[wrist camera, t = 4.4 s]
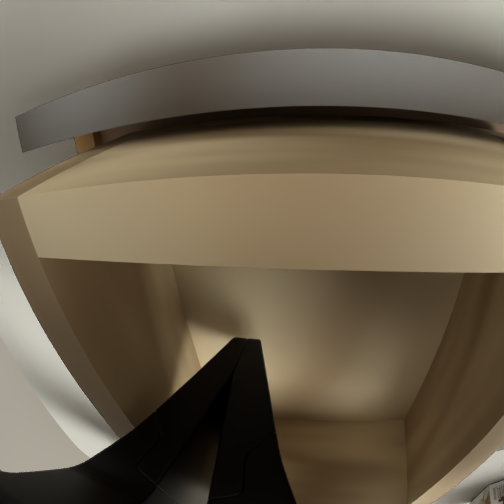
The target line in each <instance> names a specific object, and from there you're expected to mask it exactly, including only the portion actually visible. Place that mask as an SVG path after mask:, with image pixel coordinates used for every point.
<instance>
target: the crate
mask: <svg viewBox="0 0 504 504" xmlns="http://www.w3.org/2000/svg"><path fill="white" fill-rule="evenodd" d="M0 239H1V242H2V244H3V247H4V249H5V252H6V254H7V257H8V259H9V261H10V264H11V266H12V268H13V271H14V273H15V275H16V277H17V279H18V282H19V284H20V286H21V288H22V290H23V292H24V294H25V296H26V298H27V300H28V302H29V304H30V306H31V308H32V310H33V312H34V313H35V315H36V317H37V319H38V321H39V323H40V324H41V326H42V328H43V330H44V332H45V333H46V335H47V337H48V338H49V340H50V342H51V343H52V345H53V347H54V348H55V350H56V352H57V353H58V355H59V356H60V358H61V360H62V361H63V363H64V364H65V366H66V367H67V369H68V370H69V372H70V373H71V375H72V376H73V378H74V379H75V381H76V382H77V383H78V385H79V386H80V388H81V389H82V391H83V392H84V393H85V395H86V396H87V397H88V399H89V400H90V401H91V403H92V404H93V405H94V407H95V408H96V409H97V411H98V412H99V413H100V414H101V416H102V417H103V418H104V419H105V421H106V422H107V423H108V424H109V426H110V427H111V428H112V429H113V430H114V432H115V433H116V434H117V435H118V436H119V438H122V437H123V436H125V435H126V434H127V433H129V432H130V431H131V430H133V429H134V428H135V427H136V426H138V425H139V424H140V423H141V422H143V421H144V420H145V419H146V418H147V417H148V416H149V415H151V414H152V413H153V412H156V409H157V408H159V407H160V406H161V405H162V404H163V403H164V402H165V401H166V400H167V399H168V398H170V397H171V396H172V395H173V394H174V393H175V392H176V391H177V390H178V389H179V388H180V387H182V386H183V385H184V384H185V383H186V382H187V381H188V380H189V379H190V378H191V377H192V376H193V375H195V374H196V373H197V372H198V371H199V370H200V369H201V368H202V367H203V366H204V365H205V364H206V363H207V362H208V361H209V360H210V359H211V358H213V357H214V356H215V355H216V354H217V353H218V352H219V351H220V350H221V349H222V348H223V347H224V346H225V345H226V344H227V343H228V342H229V341H230V340H231V339H232V338H234V337H241V338H247V339H248V338H252V339H260V340H261V343H262V349H263V355H264V361H265V367H266V373H267V379H268V385H269V391H270V397H271V403H272V409H273V415H274V421H275V427H276V434H277V438H278V443H279V448H280V453H281V458H282V462H283V465H284V468H285V472H286V475H287V478H288V481H289V484H290V486H291V489H292V492H293V495H294V497H295V500H296V503H297V504H432V503H433V502H434V501H436V500H437V499H439V498H440V497H441V496H443V495H444V494H446V493H447V492H448V491H450V490H451V489H452V488H453V487H455V486H456V485H457V484H459V483H460V482H461V481H462V480H464V479H465V478H466V477H467V476H468V475H470V474H471V473H472V472H473V471H474V470H476V469H477V468H478V467H479V466H480V465H481V464H482V463H484V462H485V461H486V460H487V459H488V458H489V457H490V456H491V455H492V454H493V453H494V452H495V451H497V450H498V449H499V448H500V447H501V446H502V445H503V444H504V133H502V132H498V131H493V130H487V129H482V128H476V127H470V126H463V125H457V124H450V123H442V122H434V121H425V120H415V119H404V118H391V117H376V116H352V115H289V116H265V117H248V118H235V119H223V120H213V121H204V122H195V123H187V124H179V125H172V126H165V127H159V128H152V129H146V130H140V131H135V132H131V133H128V134H125V135H123V136H120V137H118V138H115V139H113V140H110V141H108V142H106V143H103V144H101V145H98V146H96V147H94V148H92V149H89V150H87V151H85V152H82V153H80V154H78V155H76V156H74V157H72V158H69V159H67V160H65V161H63V162H61V163H59V164H57V165H55V166H53V167H51V168H49V169H47V170H45V171H43V172H41V173H39V174H37V175H35V176H33V177H32V178H30V179H28V180H26V181H24V182H22V183H21V184H19V185H17V186H15V187H13V188H12V189H10V190H8V191H6V192H5V193H3V194H1V195H0Z"/></svg>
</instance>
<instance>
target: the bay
mask: <svg viewBox="0 0 504 504" xmlns="http://www.w3.org/2000/svg"><path fill="white" fill-rule="evenodd" d="M289 115H352V116H376V117H391V118H404V119H415V120H425V121H434V122H442V123H450V124H457V125H463V126H470V127H476V128H482V129H487V130H493V131H498V132H502V133H504V72H501V71H497V70H493V69H490V68H486V67H482V66H477V65H473V64H469V63H464V62H459V61H454V60H449V59H443V58H438V57H431V56H425V55H418V54H410V53H402V52H392V51H380V50H366V49H339V48H311V49H285V50H270V51H258V52H248V53H239V54H231V55H223V56H216V57H210V58H204V59H198V60H192V61H187V62H182V63H177V64H172V65H167V66H163V67H158V68H154V69H150V70H146V71H142V72H138V73H134V74H131V75H127V76H123V77H120V78H117V79H113V80H110V81H107V82H103V83H100V84H97V85H94V86H91V87H88V88H85V89H82V90H80V91H77V92H74V93H71V94H69V95H66V96H63V97H61V98H58V99H56V100H53V101H51V102H48V103H46V104H44V105H41V106H39V107H37V108H34V109H32V110H30V111H28V112H26V113H23V114H21V115H19V116H17V117H15V118H16V123H17V129H18V134H19V139H20V143H21V148H22V153H23V152H26V151H29V150H32V149H36V148H39V147H42V146H45V145H49V144H52V143H55V142H59V141H62V140H66V139H70V138H73V137H74V139H75V144H76V148H77V153H78V154H80V153H82V152H85V151H87V150H89V149H92V148H94V147H96V146H98V145H101V144H103V143H106V142H108V141H110V140H113V139H115V138H118V137H120V136H123V135H125V134H128V133H131V132H135V131H140V130H146V129H152V128H159V127H165V126H172V125H179V124H187V123H195V122H204V121H213V120H223V119H235V118H248V117H265V116H289ZM503 449H504V444H503V445H502V446H501V447H500V448H499V449H498V450H497V451H499V450H503Z"/></svg>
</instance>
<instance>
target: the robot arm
mask: <svg viewBox="0 0 504 504" xmlns="http://www.w3.org/2000/svg"><path fill="white" fill-rule="evenodd" d="M0 504H297V503H296V500H295V497H294V495H293V492H292V489H291V486H290V484H289V481H288V478H287V475H286V472H285V468H284V465H283V462H282V458H281V453H280V448H279V443H278V438H277V434H276V427H275V421H274V415H273V409H272V403H271V397H270V391H269V385H268V379H267V373H266V367H265V361H264V355H263V349H262V343H261V340H260V339H252V338H248V339H247V338H241V337H234V338H232V339H231V340H230V341H229V342H228V343H227V344H226V345H225V346H224V347H223V348H222V349H221V350H220V351H219V352H218V353H217V354H216V355H215V356H214V357H213V358H211V359H210V360H209V361H208V362H207V363H206V364H205V365H204V366H203V367H202V368H201V369H200V370H199V371H198V372H197V373H196V374H195V375H193V376H192V377H191V378H190V379H189V380H188V381H187V382H186V383H185V384H184V385H183V386H182V387H180V388H179V389H178V390H177V391H176V392H175V393H174V394H173V395H172V396H171V397H170V398H168V399H167V400H166V401H165V402H164V403H163V404H162V405H161V406H160V407H159V408H157V409H156V412H153V413H152V414H151V415H149V416H148V417H147V418H146V419H145V420H144V421H143V422H141V423H140V424H139V425H138V426H136V427H135V428H134V429H133V430H131V431H130V432H129V433H127V434H126V435H125V436H123V437H122V438H120V439H119V440H118V441H116V442H115V443H113V444H112V445H110V446H109V447H107V448H106V449H104V450H103V451H101V452H100V453H98V454H96V455H95V456H93V457H92V458H90V459H89V460H87V461H85V462H84V463H81V464H79V465H76V466H73V467H69V468H63V469H55V470H45V471H35V472H19V473H9V472H3V471H1V470H0Z"/></svg>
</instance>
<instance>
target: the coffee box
mask: <svg viewBox="0 0 504 504" xmlns="http://www.w3.org/2000/svg"><path fill="white" fill-rule="evenodd" d="M470 504H504V480H502V481H499V482H497V483H494V484H491V485H488V486H487V487H486V488H485V489H484V490H483V491H482V492H481V493H480V494H479V495H478V496H477V497H476V498H475V499H474V500H473V501H472V502H471V503H470Z"/></svg>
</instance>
